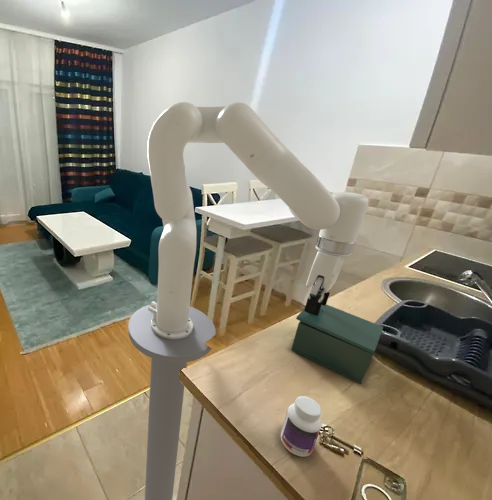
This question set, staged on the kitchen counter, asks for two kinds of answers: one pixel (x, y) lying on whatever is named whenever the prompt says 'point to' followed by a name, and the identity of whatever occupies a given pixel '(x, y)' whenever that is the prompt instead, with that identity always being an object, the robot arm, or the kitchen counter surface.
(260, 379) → the kitchen counter surface
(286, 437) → the pill bottle
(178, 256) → the robot arm
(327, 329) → the box lid
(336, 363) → the green open box
